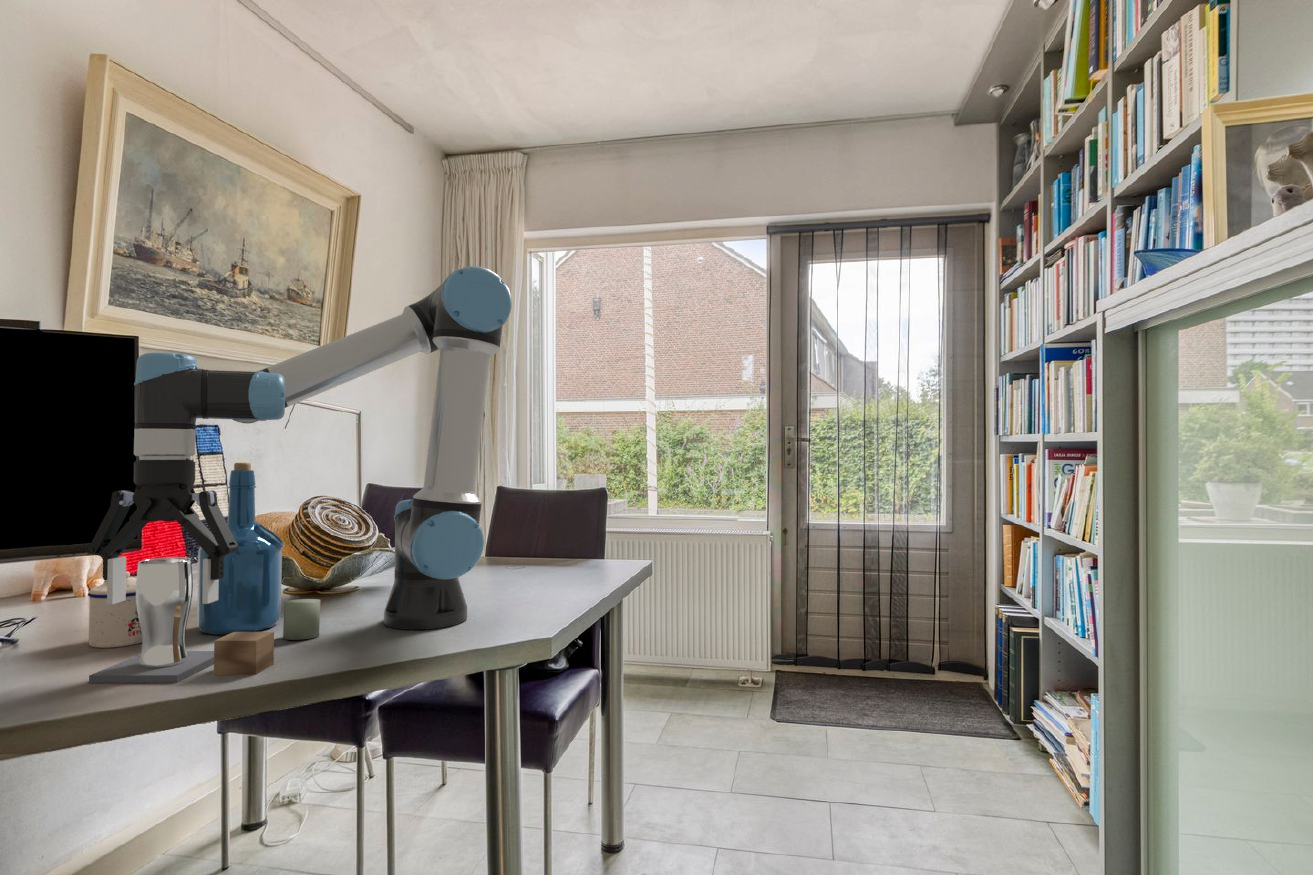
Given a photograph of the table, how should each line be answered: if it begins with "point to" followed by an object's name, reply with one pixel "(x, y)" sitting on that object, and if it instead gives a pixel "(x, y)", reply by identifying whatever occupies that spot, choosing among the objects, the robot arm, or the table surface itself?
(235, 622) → the wine bottle
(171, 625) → the beer glass
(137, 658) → the charcoal mat
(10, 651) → the table surface
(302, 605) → the pale green rounded cube
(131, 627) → the teacup with lid
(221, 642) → the walnut block
